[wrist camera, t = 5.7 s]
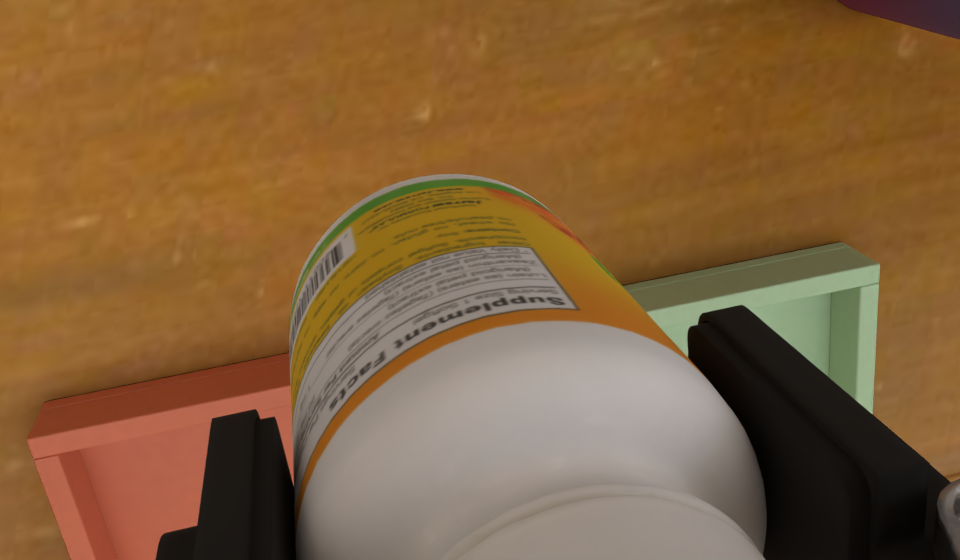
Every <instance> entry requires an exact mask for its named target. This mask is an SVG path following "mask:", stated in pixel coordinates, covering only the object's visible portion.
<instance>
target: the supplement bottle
mask: <svg viewBox="0 0 960 560" xmlns="http://www.w3.org/2000/svg"><path fill="white" fill-rule="evenodd" d="M289 352H290V384H291V388H290V392H291V412H292V441H293V474H294V518H295V553H296V560H765V558H764V557H763V552H764V546H765V537H766V527H767V509H766V497H765V489H764V481H763V478H762V474H761V471H760V467H759V464H758V460H757V457H756V454H755V451H754V449H753V447H752V444H751V442H750V440H749V438H748V436H747V434H746V431H745V429H744V428H743V426H742V425H741V423H740V421H739V420H738V418H737V417H736V415H735V413H734V412H733V411H732V410H731V408H730V407H729V406H728V404H727V403H726V402H725V401H724V399H723V398H722V397H721V395H720V394H719V393H718V392H717V390H716V389H715V388H714V387H713V385H712V384H711V383H710V382H709V381H708V379H707V378H706V377H705V376H704V375H703V374H702V373H701V371H700V370H699V369H698V368H697V367H696V366H695V365H694V364H693V363H692V362H691V360H690V359H689V358H688V357H687V356H686V355H685V354H684V353H683V352H682V351H681V350H680V349H679V348H678V346H677V345H676V344H675V343H674V342H673V341H672V340H671V339H670V338H669V337H668V336H667V335H666V334H665V332H664V331H663V330H662V329H661V328H660V327H659V326H658V325H657V324H656V322H655V321H654V320H653V319H652V318H651V317H650V316H649V315H648V314H647V313H646V311H645V310H644V309H643V308H642V307H641V306H640V305H639V304H638V303H637V302H636V300H635V299H634V298H633V297H632V296H631V295H630V294H629V293H628V292H627V291H626V289H625V288H624V287H623V286H622V285H621V284H620V283H619V282H618V281H617V280H616V279H615V277H614V276H613V275H612V274H611V273H610V272H609V271H608V270H607V269H606V268H605V267H604V266H603V264H602V263H601V262H600V261H599V260H598V259H597V258H596V257H595V256H594V255H593V254H592V253H591V252H590V251H589V249H588V248H587V247H586V246H585V245H584V244H583V243H582V242H581V241H580V240H579V239H578V238H577V237H576V236H575V235H574V234H573V232H572V231H571V230H570V229H569V228H568V227H567V226H566V225H565V224H564V223H563V222H562V221H561V220H560V219H559V218H558V217H557V216H555V215H554V214H553V213H552V212H551V211H550V210H549V209H548V208H547V207H546V206H544V205H543V204H542V203H540V202H539V201H537V200H536V199H535V198H533V197H532V196H530V195H528V194H527V193H525V192H523V191H522V190H519V189H517V188H515V187H513V186H511V185H509V184H506V183H503V182H500V181H497V180H493V179H489V178H485V177H480V176H474V175H464V174H439V175H430V176H423V177H417V178H413V179H409V180H405V181H402V182H398V183H395V184H392V185H390V186H387V187H385V188H383V189H381V190H379V191H377V192H375V193H373V194H371V195H369V196H367V197H366V198H364V199H363V200H361V201H360V202H358V203H357V204H355V205H354V206H352V207H351V208H350V209H349V210H348V211H346V212H345V213H344V214H343V215H342V216H341V217H340V218H339V219H338V220H336V221H335V222H334V223H333V224H332V225H331V227H330V228H329V229H328V230H327V231H326V232H325V233H324V235H323V236H322V237H321V238H320V240H319V241H318V243H317V244H316V245H315V247H314V248H313V250H312V252H311V253H310V255H309V257H308V259H307V260H306V262H305V264H304V266H303V268H302V271H301V273H300V275H299V279H298V282H297V285H296V288H295V292H294V297H293V302H292V308H291V317H290V326H289Z"/></svg>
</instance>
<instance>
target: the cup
mask: <svg viewBox="0 0 960 560" xmlns="http://www.w3.org/2000/svg"><path fill="white" fill-rule="evenodd" d="M838 1H839V2H841V3H842V4H844V5H845V6H847V7H848V8H850V9H853V10H856V11H859V12H862V13H866V14H869V15H873V16H877V17H880V18H884V19H887V20H891V21H895V22H898V23H902V24H906V25H909V26H913V27H916V28H920V29H924V30H927V31H931V32H934V33H938V34H942V35H945V36H949V37H952V38H956V39H960V0H838Z"/></svg>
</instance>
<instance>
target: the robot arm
mask: <svg viewBox="0 0 960 560" xmlns="http://www.w3.org/2000/svg"><path fill="white" fill-rule="evenodd" d="M687 342H688V358H689V359H690V360H691V362H692V363H693V364H694V365H695V366H696V367H697V368H698V369H699V370H700V371H701V373H702V374H703V375H704V376H705V377H706V378H707V379H708V381H709V382H710V383H711V384H712V385H713V387H714V388H715V389H716V390H717V392H718V393H719V394H720V395H721V397H722V398H723V399H724V401H725V402H726V403H727V404H728V406H729V407H730V408H731V410H732V411H733V412H734V413H735V415H736V417H737V418H738V420H739V421H740V423H741V425H742V426H743V428H744V429H745V431H746V434H747V436H748V438H749V440H750V442H751V444H752V447H753V449H754V451H755V454H756V457H757V460H758V464H759V467H760V471H761V474H762V478H763V481H764V489H765V497H766V509H767V527H766V537H765V546H764V552H763V557H764V558H765V560H960V479H958V480H956V481H953V482H950V481H949V480H947V479H946V478H945V477H944V476H943V475H941V474H940V473H939V472H938V471H937V470H936V469H934V468H933V467H932V466H931V465H930V463H929V462H928V461H926V460H925V459H924V458H923V457H922V456H921V455H919V454H918V453H917V452H916V451H915V450H914V449H912V448H911V447H910V446H909V445H908V444H906V443H905V442H904V441H903V440H902V439H901V438H899V437H898V436H897V435H896V434H895V433H894V432H892V431H891V430H890V429H889V428H888V427H887V426H885V425H884V424H883V423H882V422H881V421H880V420H878V419H877V418H876V417H875V416H874V415H872V414H871V413H870V412H869V411H868V410H867V409H865V408H864V407H863V406H862V405H861V404H860V403H858V402H857V401H856V400H855V399H854V398H853V397H851V396H850V395H849V394H848V393H847V392H845V391H844V390H843V389H842V388H841V387H840V386H838V385H837V384H836V383H835V382H834V381H833V380H831V379H830V378H829V377H828V376H827V375H826V374H824V373H823V372H822V371H821V370H820V369H818V368H817V367H816V366H815V365H814V364H813V363H811V362H810V361H809V360H808V359H807V358H806V357H804V356H803V355H802V354H801V353H800V352H799V351H797V350H796V349H795V348H794V347H793V346H791V345H790V344H789V343H788V342H787V341H786V340H784V339H783V338H782V337H781V336H780V335H779V334H777V333H776V332H775V331H774V330H773V329H772V328H770V327H769V326H768V325H767V324H766V323H765V322H763V321H762V320H761V319H760V318H759V317H757V316H756V315H755V314H754V313H753V312H752V311H750V310H749V309H748V308H747V307H745V306H743V305H738V306H733V307H728V308H724V309H719V310H714V311H710V312H705V313H702V314H701V315H700V317H699V320H698V325H694V326H690V328H689V329H688V335H687ZM155 560H296V553H295V518H294V486H293V482H292V478H291V474H290V470H289V466H288V462H287V458H286V455H285V451H284V447H283V443H282V439H281V435H280V431H279V427H278V424H277V421H276V418H275V417H274V416H273V417H269V418H264V419H260V416H259V414H258V411H257V410H256V409H253V410H249V411H244V412H239V413H235V414H230V415H225V416H221V417H216V418H212V421H211V427H210V434H209V441H208V449H207V456H206V464H205V471H204V479H203V486H202V494H201V501H200V509H199V516H198V524H197V526H193V527H189V528H185V529H180V530H176V531H171V532H167V533H164V534H163V535H162V536H161V538H160V541H159V544H158V549H157V554H156V559H155Z"/></svg>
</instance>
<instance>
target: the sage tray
mask: <svg viewBox="0 0 960 560" xmlns="http://www.w3.org/2000/svg"><path fill="white" fill-rule="evenodd" d="M879 273H880V264H879V263H877V262H875V261H874V260H872V259H870V258H868V257H867V256H865V255H863V254H861V253H860V252H858V251H856V250H855V249H853V248H851V247H849V246H848V245H846V244H844V243H843V242H838V243H833V244H828V245H824V246H819V247H814V248H809V249H804V250H799V251H794V252H789V253H784V254H779V255H774V256H769V257H764V258H759V259H754V260H749V261H744V262H739V263H734V264H729V265H724V266H719V267H714V268H709V269H704V270H699V271H694V272H689V273H684V274H679V275H674V276H669V277H664V278H660V279H655V280H650V281H645V282H640V283H635V284H630V285H625V286H623V287H624V288H625V289H626V291H627V292H628V293H629V294H630V295H631V296H632V297H633V298H634V299H635V300H636V302H637V303H638V304H639V305H640V306H641V307H642V308H643V309H644V310H645V311H646V313H647V314H648V315H649V316H650V317H651V318H652V319H653V320H654V321H655V322H656V324H657V325H658V326H659V327H660V328H661V329H662V330H663V331H664V332H665V334H666V335H667V336H668V337H669V338H670V339H671V340H672V341H673V342H674V343H675V344H676V345H677V346H678V348H679V349H680V350H681V351H682V352H683V353H684V354H685V355H686V356H687V357H688V342H687V335H688V329H689V328H690V326H694V325H698V320H699V317H700V315H701V314H702V313H705V312H710V311H714V310H719V309H724V308H728V307H733V306H738V305H743V306H745V307H747V308H748V309H749V310H750V311H752V312H753V313H754V314H755V315H756V316H757V317H759V318H760V319H761V320H762V321H763V322H765V323H766V324H767V325H768V326H769V327H770V328H772V329H773V330H774V331H775V332H776V333H777V334H779V335H780V336H781V337H782V338H783V339H784V340H786V341H787V342H788V343H789V344H790V345H791V346H793V347H794V348H795V349H796V350H797V351H799V352H800V353H801V354H802V355H803V356H804V357H806V358H807V359H808V360H809V361H810V362H811V363H813V364H814V365H815V366H816V367H817V368H818V369H820V370H821V371H822V372H823V373H824V374H826V375H827V376H828V377H829V378H830V379H831V380H833V381H834V382H835V383H836V384H837V385H838V386H840V387H841V388H842V389H843V390H844V391H845V392H847V393H848V394H849V395H850V396H851V397H853V398H854V399H855V400H856V401H857V402H858V403H860V404H861V405H862V406H863V407H864V408H865V409H867V410H868V411H869V412H870V413H871V414H872V412H873V392H874V372H875V351H876V331H877V311H878V291H879V284H878V282H879Z"/></svg>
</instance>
